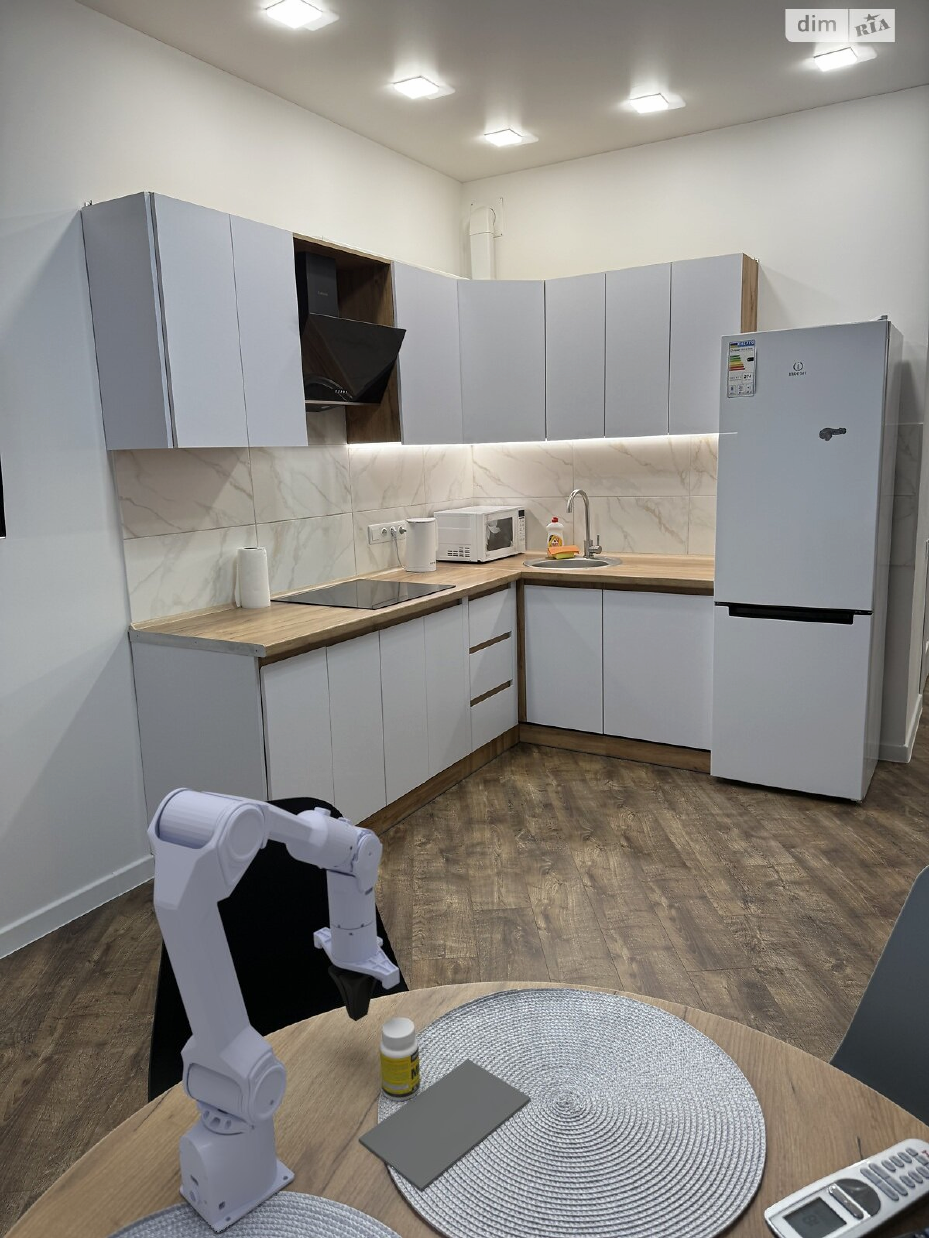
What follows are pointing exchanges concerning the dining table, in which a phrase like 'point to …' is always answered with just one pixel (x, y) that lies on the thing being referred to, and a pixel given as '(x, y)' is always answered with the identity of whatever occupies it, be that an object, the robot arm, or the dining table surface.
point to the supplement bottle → (399, 1059)
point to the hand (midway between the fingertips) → (358, 1015)
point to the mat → (444, 1123)
